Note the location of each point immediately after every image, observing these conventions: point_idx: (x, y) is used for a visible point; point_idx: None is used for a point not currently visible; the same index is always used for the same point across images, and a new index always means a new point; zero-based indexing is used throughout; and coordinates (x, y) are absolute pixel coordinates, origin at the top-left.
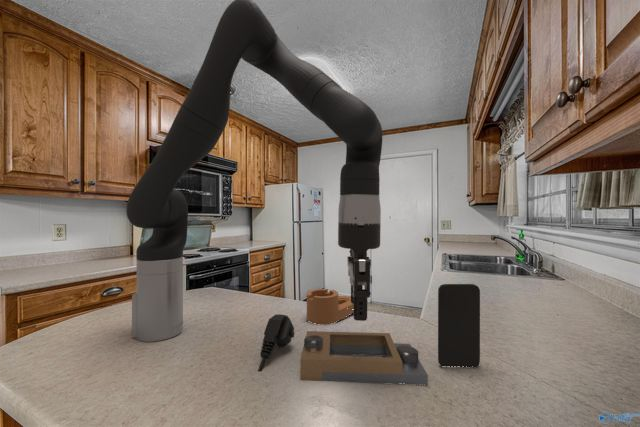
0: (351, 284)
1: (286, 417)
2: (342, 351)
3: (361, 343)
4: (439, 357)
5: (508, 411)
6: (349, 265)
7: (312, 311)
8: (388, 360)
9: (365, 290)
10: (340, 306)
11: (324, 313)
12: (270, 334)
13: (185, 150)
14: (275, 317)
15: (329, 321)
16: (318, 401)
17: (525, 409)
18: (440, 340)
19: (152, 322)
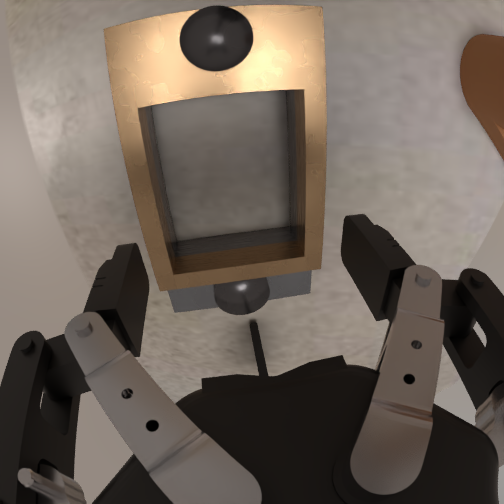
0: (122, 352)
1: (19, 59)
2: (290, 121)
3: (298, 183)
4: (251, 334)
5: (153, 366)
6: (155, 478)
7: (491, 48)
8: (157, 265)
9: (46, 395)
10: None
11: (483, 83)
12: None
13: None
14: None
15: (468, 93)
16: (69, 97)
17: (165, 379)
18: (257, 363)
19: None
